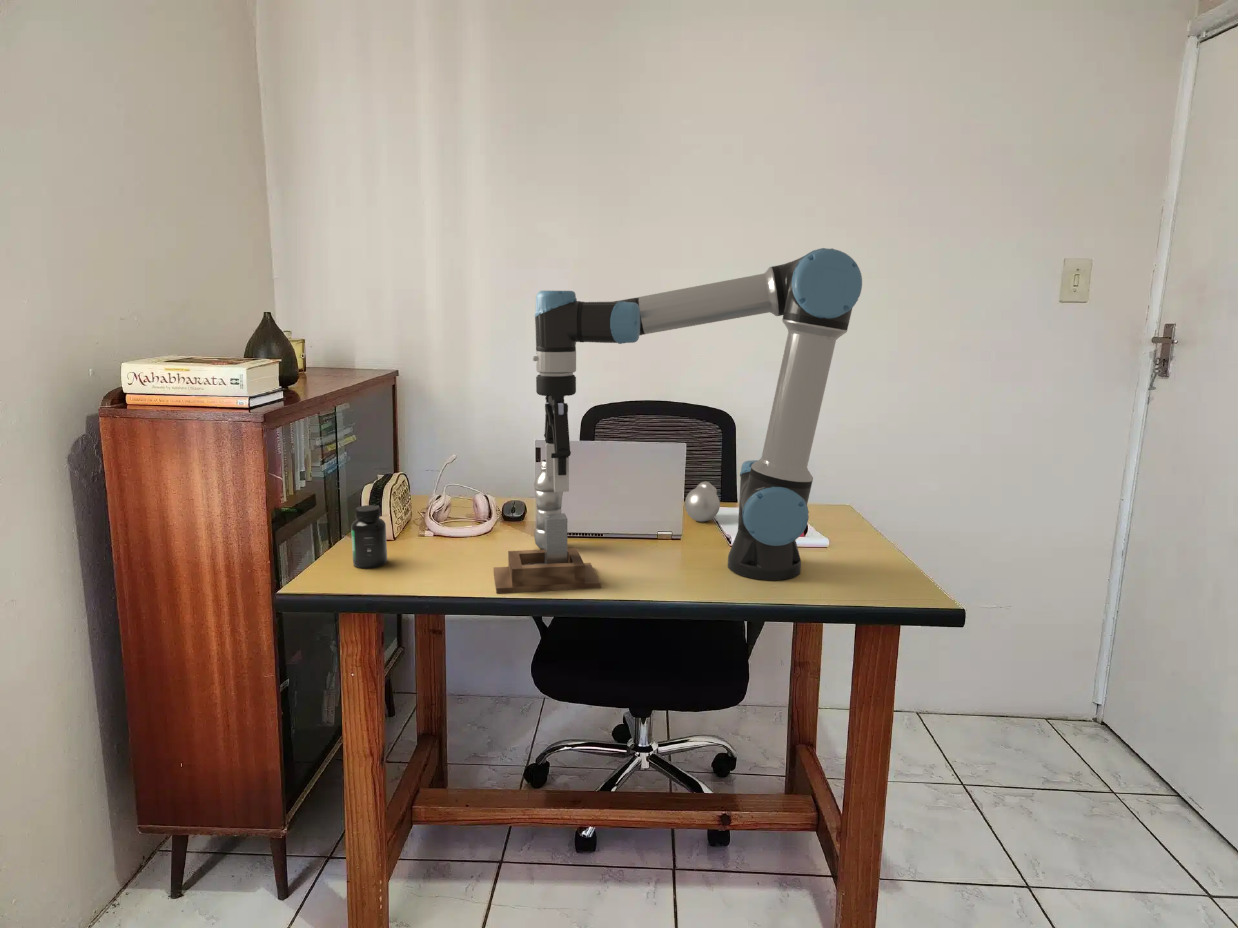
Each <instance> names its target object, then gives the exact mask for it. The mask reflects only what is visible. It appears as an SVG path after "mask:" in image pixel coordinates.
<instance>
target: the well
mask: <svg viewBox="0 0 1238 928" xmlns="http://www.w3.org/2000/svg"><path fill="white" fill-rule="evenodd" d="M507 554H508V555H507V557H508V558H507V559H508V562H507V563H508V566H495V567H494V566H493V568H492V569H493V577H494V585H495V593H496V594H507V593H508V594H509V593H510V594H511V593H523V592H524V593H527V592H543V591H544V592H548V591H563V590H579V589H580V590H583V589H600V588H601V581H600V579H599V577H598V575H597V572H596V571H595V569H594V567H593V565H592V563H591V562H584V561H583V558H582V556H581V554H580V553H579V550H578V548H577V547H572V548H570V547H567V563H556V564H535V563H545V549H526V550H525V549H522V550H508V553H507ZM525 564H535V565H525Z"/></svg>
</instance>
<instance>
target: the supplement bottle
mask: <svg viewBox="0 0 1238 928" xmlns="http://www.w3.org/2000/svg"><path fill="white" fill-rule="evenodd" d="M380 517H381V508H380V506H378V505H373V504H369V505H368V504H367V505H361V506H358V507H356V508H355V518H356V519H355V520H354V521H353V522H352V524H351V527H350V531H351V533H350V534H351V550H352V551H351V552H352V563H353V565H354V567H356V568H359V569H364V570H365V569H366V570H367V569H376V568H380V567H382V566H384V565H386V563H387V561H388V546H387V544H388V543H387V526H386V525H387V524H386V523H385V520H383V518H380Z"/></svg>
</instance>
